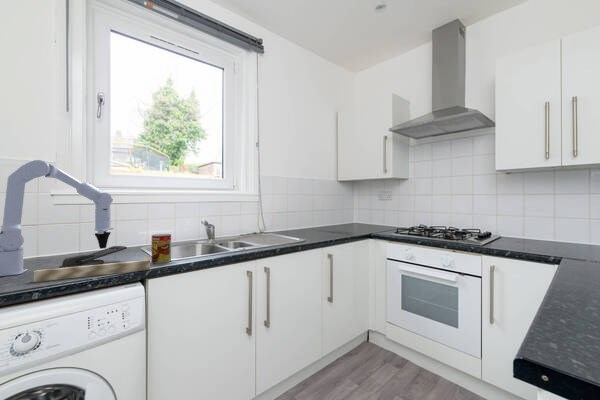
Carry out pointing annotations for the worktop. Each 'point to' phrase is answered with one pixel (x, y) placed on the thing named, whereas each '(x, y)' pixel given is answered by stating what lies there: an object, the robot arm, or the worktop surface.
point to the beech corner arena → (91, 270)
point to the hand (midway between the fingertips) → (102, 248)
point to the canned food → (161, 248)
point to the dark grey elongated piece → (90, 258)
